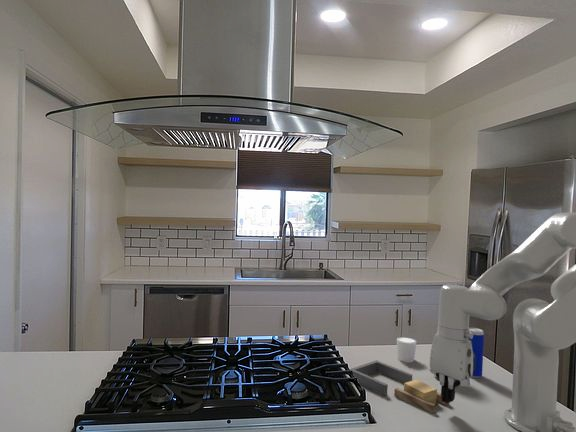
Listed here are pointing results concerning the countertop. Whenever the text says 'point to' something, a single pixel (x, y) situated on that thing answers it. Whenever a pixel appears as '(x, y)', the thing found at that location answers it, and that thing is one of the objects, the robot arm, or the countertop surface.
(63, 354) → the countertop surface
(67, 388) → the countertop surface
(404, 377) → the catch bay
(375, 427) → the countertop surface
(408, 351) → the white tapered cylinder
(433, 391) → the ochre block
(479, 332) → the beverage can
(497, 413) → the countertop surface
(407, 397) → the chute
